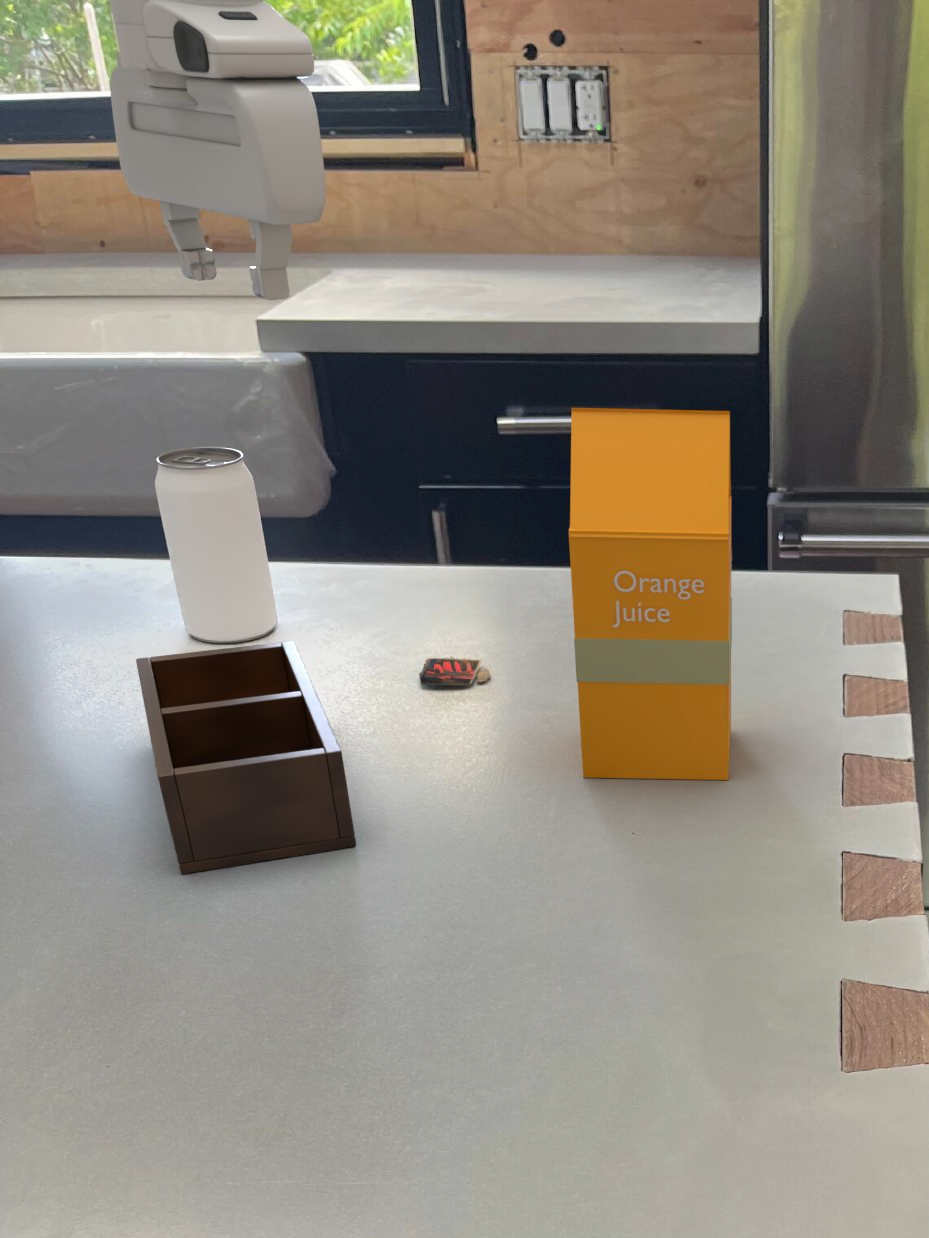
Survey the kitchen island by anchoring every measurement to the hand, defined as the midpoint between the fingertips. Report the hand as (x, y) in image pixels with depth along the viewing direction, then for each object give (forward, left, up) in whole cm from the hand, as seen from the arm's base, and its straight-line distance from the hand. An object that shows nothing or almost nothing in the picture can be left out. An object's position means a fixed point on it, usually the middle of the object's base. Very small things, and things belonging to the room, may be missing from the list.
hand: (235, 288), depth 98 cm
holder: (+13, -28, -22) cm, 38 cm away
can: (-2, -4, -22) cm, 23 cm away
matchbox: (+17, -8, -22) cm, 29 cm away
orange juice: (+34, -16, -22) cm, 43 cm away
